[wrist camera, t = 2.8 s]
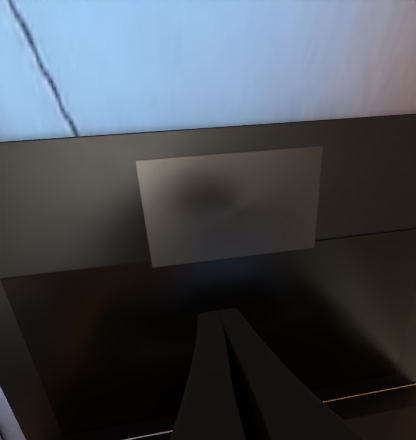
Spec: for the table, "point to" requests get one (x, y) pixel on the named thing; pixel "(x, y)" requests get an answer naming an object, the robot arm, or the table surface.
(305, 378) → the laptop
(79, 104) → the table surface
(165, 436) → the laptop screen
